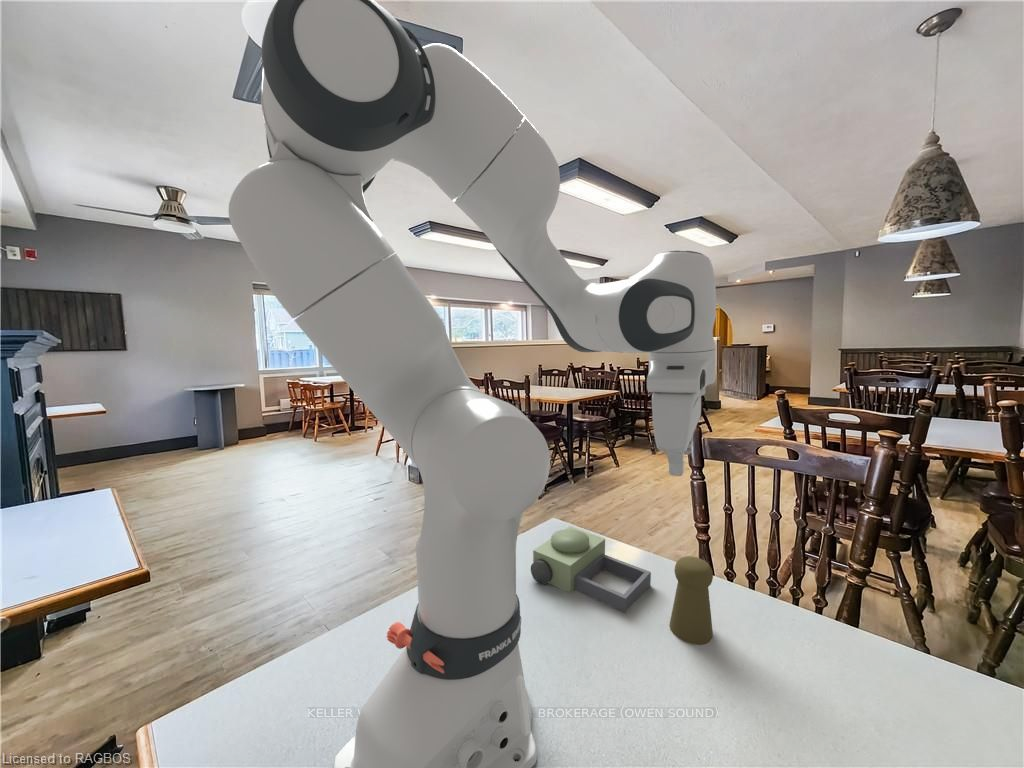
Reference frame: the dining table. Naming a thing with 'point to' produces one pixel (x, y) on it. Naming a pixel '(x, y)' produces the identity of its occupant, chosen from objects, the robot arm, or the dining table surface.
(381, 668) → the dining table surface
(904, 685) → the dining table surface
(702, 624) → the brown knobbed peg
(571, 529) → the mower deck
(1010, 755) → the dining table surface
